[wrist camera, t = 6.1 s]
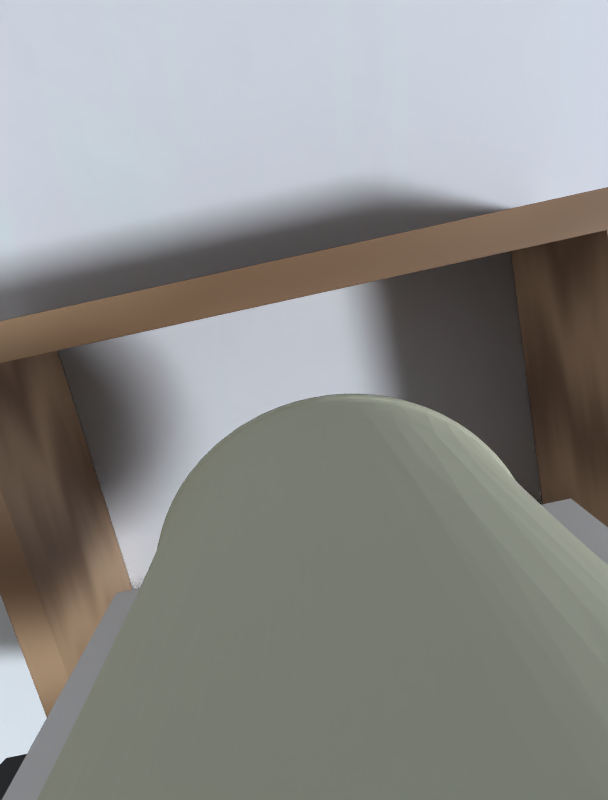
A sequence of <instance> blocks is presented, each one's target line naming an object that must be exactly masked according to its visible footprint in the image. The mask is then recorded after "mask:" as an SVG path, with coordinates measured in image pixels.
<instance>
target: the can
mask: <svg viewBox="0 0 608 800" xmlns="http://www.w3.org/2000/svg"><path fill="white" fill-rule="evenodd" d="M37 800H608V565H607V564H606V563H605V562H604V561H602V560H601V559H600V558H599V557H598V556H597V555H596V554H595V553H593V552H592V551H591V550H590V549H589V548H588V547H587V546H586V545H584V544H583V543H582V542H581V541H580V540H579V539H578V538H577V537H575V536H574V535H573V534H572V533H571V532H570V531H569V530H568V529H567V528H566V527H564V526H563V525H562V524H561V523H560V522H559V521H558V520H557V519H556V518H555V517H554V516H553V515H551V514H550V513H549V512H548V511H547V510H546V509H545V508H544V507H543V506H542V505H541V504H540V503H538V502H537V501H536V500H535V499H534V498H533V497H532V496H531V495H530V494H529V493H528V492H527V491H525V490H524V489H523V488H522V487H521V486H520V485H519V484H518V483H517V482H516V480H515V479H514V477H513V476H512V474H511V473H510V471H509V470H508V469H507V467H506V466H505V465H504V463H503V462H502V461H501V460H500V459H499V457H498V456H497V455H496V454H495V453H494V452H493V451H492V450H491V449H490V448H489V447H488V446H487V445H486V444H485V443H484V442H483V441H482V440H481V439H479V438H478V437H477V436H476V435H474V434H473V433H472V432H470V431H469V430H468V429H466V428H465V427H463V426H462V425H460V424H459V423H457V422H455V421H453V420H452V419H450V418H448V417H446V416H445V415H443V414H440V413H438V412H436V411H434V410H432V409H430V408H427V407H424V406H421V405H419V404H416V403H412V402H409V401H405V400H402V399H397V398H392V397H387V396H379V395H370V394H336V395H326V396H320V397H314V398H309V399H304V400H300V401H296V402H293V403H290V404H287V405H284V406H281V407H278V408H276V409H273V410H271V411H269V412H266V413H264V414H261V415H260V416H258V417H256V418H254V419H252V420H251V421H249V422H247V423H245V424H244V425H242V426H240V427H239V428H237V429H236V430H234V431H233V432H232V433H230V434H229V435H228V436H226V437H225V438H224V439H223V440H221V441H220V442H219V443H217V444H216V445H215V446H214V447H213V448H212V449H211V450H210V451H209V452H208V453H207V454H206V455H205V456H204V457H203V458H202V459H201V460H200V462H199V463H198V464H197V465H196V466H195V468H194V469H193V470H192V471H191V472H190V474H189V475H188V476H187V478H186V479H185V481H184V482H183V484H182V485H181V487H180V489H179V491H178V492H177V494H176V496H175V498H174V500H173V501H172V504H171V506H170V508H169V511H168V513H167V516H166V518H165V521H164V524H163V527H162V531H161V535H160V539H159V543H158V548H157V552H156V554H155V556H154V558H153V561H152V563H151V565H150V567H149V570H148V572H147V574H146V576H145V579H144V581H143V583H142V585H141V587H140V589H139V591H138V593H137V595H136V597H135V600H134V602H133V604H132V606H131V608H130V610H129V612H128V614H127V616H126V618H125V620H124V622H123V624H122V627H121V629H120V631H119V633H118V635H117V637H116V639H115V641H114V643H113V645H112V647H111V649H110V652H109V654H108V656H107V658H106V660H105V662H104V664H103V666H102V668H101V670H100V672H99V674H98V676H97V679H96V681H95V683H94V685H93V687H92V689H91V691H90V693H89V695H88V697H87V699H86V701H85V703H84V706H83V708H82V710H81V712H80V714H79V716H78V718H77V720H76V722H75V724H74V726H73V728H72V730H71V732H70V734H69V736H68V738H67V740H66V742H65V744H64V746H63V748H62V750H61V752H60V754H59V756H58V758H57V760H56V762H55V764H54V766H53V768H52V771H51V773H50V775H49V777H48V779H47V781H46V783H45V785H44V787H43V789H42V791H41V793H40V795H39V797H38V799H37Z"/></svg>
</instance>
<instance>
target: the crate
mask: <svg viewBox="0 0 608 800" xmlns="http://www.w3.org/2000/svg"><path fill="white" fill-rule="evenodd" d="M509 251H511V257H512V265H513V273H514V281H515V289H516V297H517V305H518V313H519V321H520V328H521V336H522V344H523V352H524V360H525V368H526V376H527V384H528V392H529V400H530V408H531V416H532V424H533V431H534V439H535V447H536V455H537V463H538V471H539V479H540V487H541V495H542V503H543V504H546V503H551V502H556V501H561V500H566V499H572V500H573V501H575V502H576V503H577V504H579V505H580V506H581V507H582V508H584V509H585V510H586V511H587V512H589V513H590V514H591V515H593V516H594V517H595V518H596V519H598V520H599V521H600V522H602V523H603V524H604V525H605V526H607V527H608V187H607V188H602V189H598V190H593V191H589V192H584V193H579V194H575V195H570V196H566V197H561V198H557V199H552V200H548V201H543V202H539V203H534V204H530V205H525V206H521V207H516V208H511V209H507V210H502V211H498V212H493V213H489V214H484V215H480V216H475V217H471V218H466V219H462V220H457V221H452V222H448V223H443V224H439V225H434V226H430V227H425V228H421V229H416V230H412V231H407V232H403V233H398V234H393V235H389V236H384V237H380V238H375V239H371V240H366V241H362V242H357V243H353V244H348V245H344V246H339V247H335V248H330V249H325V250H321V251H316V252H312V253H307V254H303V255H298V256H294V257H289V258H285V259H280V260H276V261H271V262H266V263H262V264H257V265H253V266H248V267H244V268H239V269H235V270H230V271H226V272H221V273H217V274H212V275H208V276H203V277H198V278H194V279H189V280H185V281H180V282H176V283H171V284H167V285H162V286H158V287H153V288H149V289H144V290H139V291H135V292H130V293H126V294H121V295H117V296H112V297H108V298H103V299H99V300H94V301H90V302H85V303H80V304H76V305H71V306H67V307H62V308H58V309H53V310H49V311H44V312H40V313H35V314H31V315H26V316H22V317H17V318H12V319H8V320H3V321H0V594H1V597H2V599H3V602H4V605H5V607H6V610H7V613H8V615H9V618H10V621H11V623H12V626H13V629H14V631H15V634H16V637H17V639H18V642H19V645H20V647H21V650H22V653H23V655H24V658H25V661H26V663H27V666H28V668H29V671H30V674H31V676H32V679H33V682H34V684H35V687H36V690H37V692H38V695H39V698H40V700H41V703H42V706H43V708H44V711H45V714H46V716H47V717H48V715H49V713H50V712H51V710H52V708H53V706H54V704H55V703H56V701H57V699H58V697H59V695H60V694H61V692H62V690H63V688H64V686H65V685H66V683H67V681H68V679H69V677H70V675H71V674H72V672H73V670H74V668H75V666H76V665H77V663H78V661H79V659H80V657H81V656H82V654H83V652H84V650H85V648H86V647H87V645H88V643H89V641H90V639H91V638H92V636H93V634H94V632H95V630H96V628H97V627H98V625H99V623H100V621H101V619H102V618H103V616H104V614H105V612H106V610H107V609H108V607H109V605H110V603H111V601H112V600H113V598H114V596H115V594H116V593H119V592H124V591H128V590H133V588H132V585H131V582H130V579H129V576H128V573H127V569H126V566H125V563H124V560H123V557H122V554H121V550H120V547H119V544H118V541H117V538H116V535H115V531H114V528H113V525H112V522H111V519H110V516H109V512H108V509H107V506H106V503H105V500H104V497H103V493H102V490H101V487H100V484H99V481H98V478H97V474H96V471H95V468H94V465H93V462H92V459H91V455H90V452H89V449H88V446H87V443H86V440H85V436H84V433H83V430H82V427H81V424H80V421H79V417H78V414H77V411H76V408H75V405H74V402H73V398H72V395H71V392H70V389H69V386H68V383H67V379H66V376H65V373H64V370H63V367H62V364H61V360H60V357H59V354H58V350H62V349H67V348H71V347H76V346H80V345H85V344H90V343H94V342H99V341H103V340H108V339H112V338H117V337H121V336H126V335H131V334H135V333H140V332H144V331H149V330H153V329H158V328H162V327H167V326H172V325H176V324H181V323H185V322H190V321H194V320H199V319H203V318H208V317H213V316H217V315H222V314H226V313H231V312H235V311H240V310H244V309H249V308H254V307H258V306H263V305H267V304H272V303H276V302H281V301H285V300H290V299H295V298H299V297H304V296H308V295H313V294H317V293H322V292H326V291H331V290H336V289H340V288H345V287H349V286H354V285H358V284H363V283H367V282H372V281H377V280H381V279H386V278H390V277H395V276H399V275H404V274H408V273H413V272H418V271H422V270H427V269H431V268H436V267H440V266H445V265H449V264H454V263H459V262H463V261H468V260H472V259H477V258H481V257H486V256H490V255H495V254H500V253H504V252H509Z"/></svg>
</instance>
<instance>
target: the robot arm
mask: <svg viewBox="0 0 608 800" xmlns="http://www.w3.org/2000/svg"><path fill="white" fill-rule="evenodd" d="M542 506H543V507H544V508H545V509H546V510H547V511H548V512H549V513H550V514H551V515H553V516H554V517H555V518H556V519H557V520H558V521H559V522H560V523H561V524H562V525H563V526H564V527H566V528H567V529H568V530H569V531H570V532H571V533H572V534H573V535H574V536H575V537H577V538H578V539H579V540H580V541H581V542H582V543H583V544H584V545H586V546H587V547H588V548H589V549H590V550H591V551H592V552H593V553H595V554H596V555H597V556H598V557H599V558H600V559H601V560H602V561H604V562H605V563H606V564H607V565H608V527H607V526H605V525H604V524H603V523H602V522H600V521H599V520H598V519H596V518H595V517H594V516H593V515H591V514H590V513H589V512H587V511H586V510H585V509H584V508H582V507H581V506H580V505H579V504H577V503H576V502H575V501H573V500H572V499H566V500H561V501H556V502H551V503H546V504H542ZM139 589H140V588H138V589H133V590H128V591H124V592H119V593H116V594H115V596H114V598H113V600H112V601H111V603H110V605H109V607H108V609H107V610H106V612H105V614H104V616H103V618H102V619H101V621H100V623H99V625H98V627H97V628H96V630H95V632H94V634H93V636H92V638H91V639H90V641H89V643H88V645H87V647H86V648H85V650H84V652H83V654H82V656H81V657H80V659H79V661H78V663H77V665H76V666H75V668H74V670H73V672H72V674H71V675H70V677H69V679H68V681H67V683H66V685H65V686H64V688H63V690H62V692H61V694H60V695H59V697H58V699H57V701H56V703H55V704H54V706H53V708H52V710H51V712H50V713H49V715H48V717H47V719H46V721H45V722H44V724H43V726H42V728H41V730H40V732H39V733H38V735H37V737H36V739H35V741H34V742H33V744H32V746H31V748H30V750H29V751H28V753H27V754H24V755H20V756H15V757H10V758H6V759H5V760H4V761H3V762H2V763H1V764H0V800H37V799H38V797H39V795H40V793H41V791H42V789H43V787H44V785H45V783H46V781H47V779H48V777H49V775H50V773H51V771H52V768H53V766H54V764H55V762H56V760H57V758H58V756H59V754H60V752H61V750H62V748H63V746H64V744H65V742H66V740H67V738H68V736H69V734H70V732H71V730H72V728H73V726H74V724H75V722H76V720H77V718H78V716H79V714H80V712H81V710H82V708H83V706H84V703H85V701H86V699H87V697H88V695H89V693H90V691H91V689H92V687H93V685H94V683H95V681H96V679H97V676H98V674H99V672H100V670H101V668H102V666H103V664H104V662H105V660H106V658H107V656H108V654H109V652H110V649H111V647H112V645H113V643H114V641H115V639H116V637H117V635H118V633H119V631H120V629H121V627H122V624H123V622H124V620H125V618H126V616H127V614H128V612H129V610H130V608H131V606H132V604H133V602H134V600H135V597H136V595H137V593H138V591H139Z"/></svg>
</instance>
